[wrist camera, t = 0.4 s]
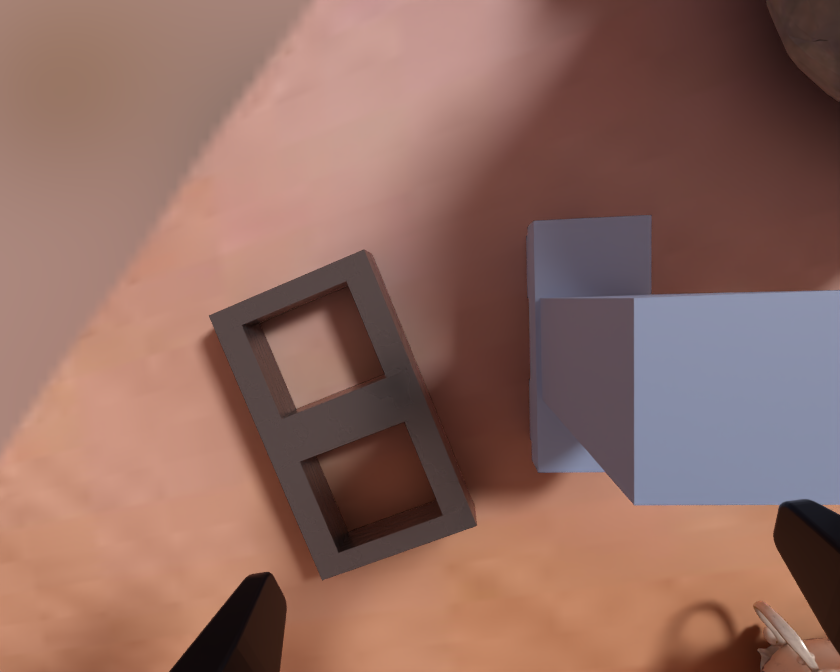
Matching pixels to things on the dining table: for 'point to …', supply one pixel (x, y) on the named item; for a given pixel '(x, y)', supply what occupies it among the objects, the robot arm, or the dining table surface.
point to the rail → (344, 419)
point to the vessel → (811, 38)
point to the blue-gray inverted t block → (677, 376)
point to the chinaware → (792, 647)
